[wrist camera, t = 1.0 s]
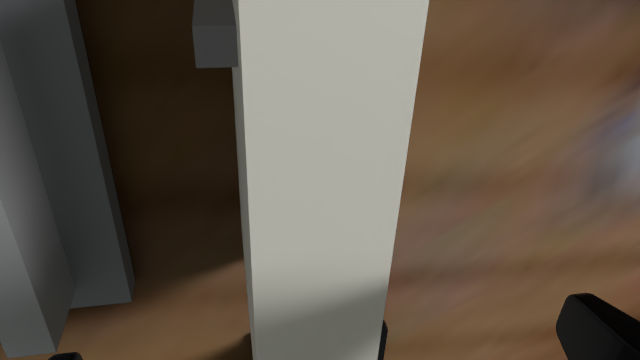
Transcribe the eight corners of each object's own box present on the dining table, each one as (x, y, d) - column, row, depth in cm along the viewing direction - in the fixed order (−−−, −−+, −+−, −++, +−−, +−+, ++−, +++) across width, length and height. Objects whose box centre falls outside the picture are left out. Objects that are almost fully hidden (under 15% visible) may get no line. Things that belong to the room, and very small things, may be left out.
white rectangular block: (312, 239, 22) (366, 437, 15) (223, 247, 21) (231, 459, 14) (324, -94, 15) (434, -39, 8) (193, -97, 15) (179, -40, 7)
